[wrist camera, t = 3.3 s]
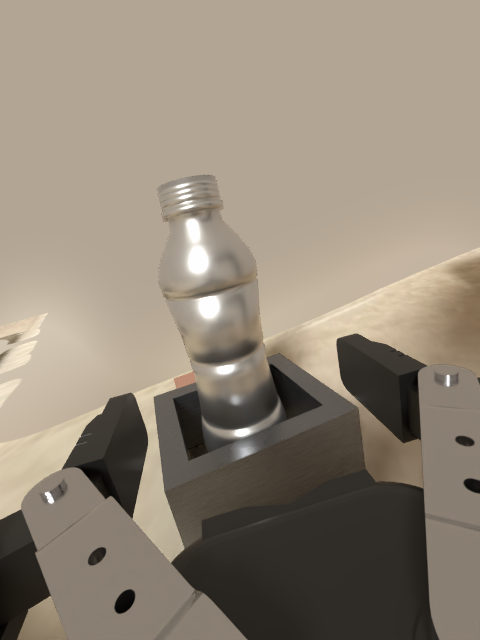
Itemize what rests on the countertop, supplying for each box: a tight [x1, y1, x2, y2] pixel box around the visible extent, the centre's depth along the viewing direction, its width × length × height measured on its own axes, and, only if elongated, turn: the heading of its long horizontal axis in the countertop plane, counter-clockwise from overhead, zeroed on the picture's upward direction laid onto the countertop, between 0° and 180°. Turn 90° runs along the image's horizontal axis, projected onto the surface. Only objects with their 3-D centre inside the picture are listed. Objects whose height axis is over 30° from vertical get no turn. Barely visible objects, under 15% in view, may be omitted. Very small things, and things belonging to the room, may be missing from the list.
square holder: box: [154, 353, 365, 548], centre depth 23 cm, size 12×11×5 cm
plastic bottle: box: [157, 175, 288, 453], centre depth 21 cm, size 6×7×20 cm
